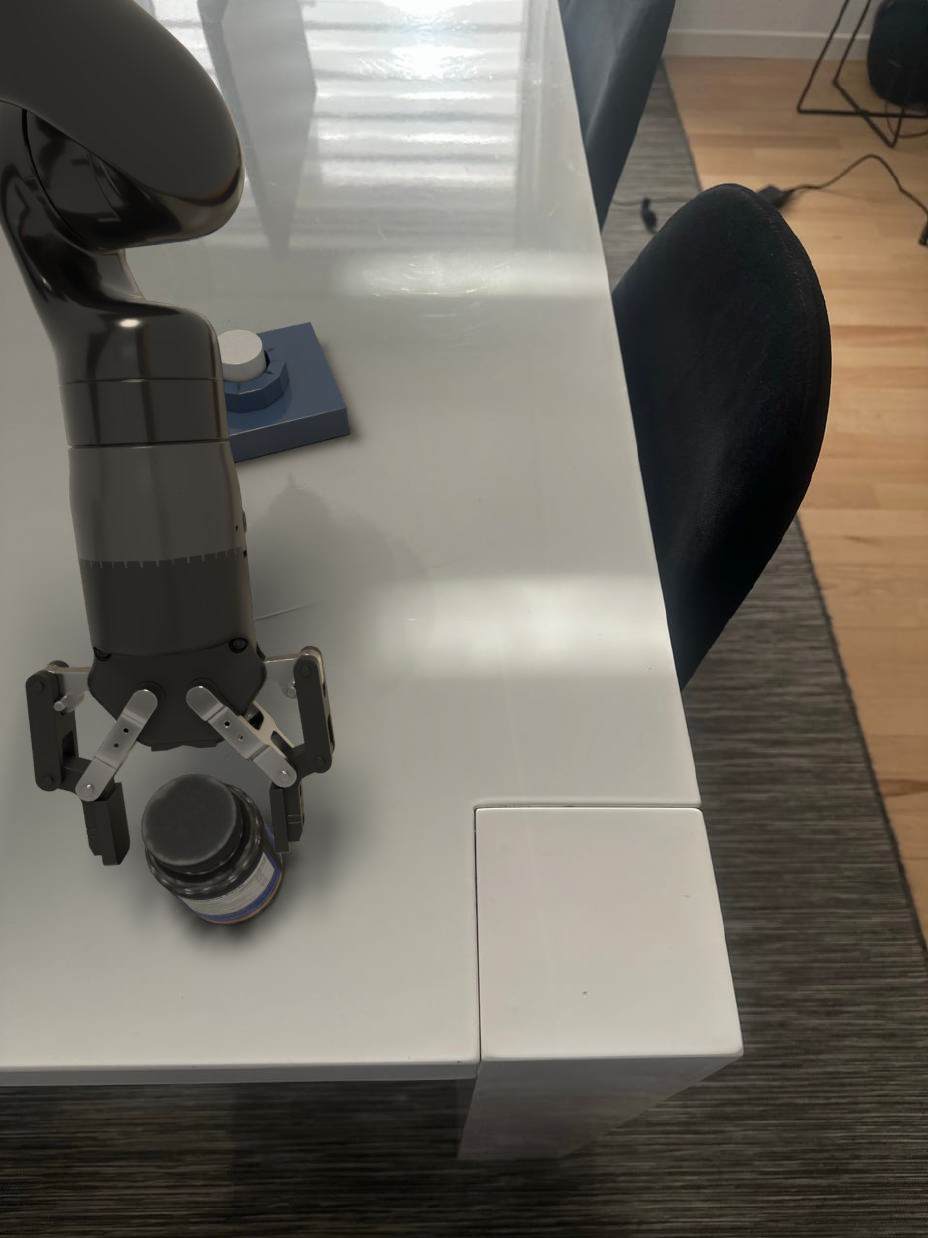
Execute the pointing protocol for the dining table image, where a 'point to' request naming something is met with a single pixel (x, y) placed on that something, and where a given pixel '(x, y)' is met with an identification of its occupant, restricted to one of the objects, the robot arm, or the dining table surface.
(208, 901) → the pill bottle
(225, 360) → the white push button
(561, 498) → the dining table surface
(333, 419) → the blue push button box
